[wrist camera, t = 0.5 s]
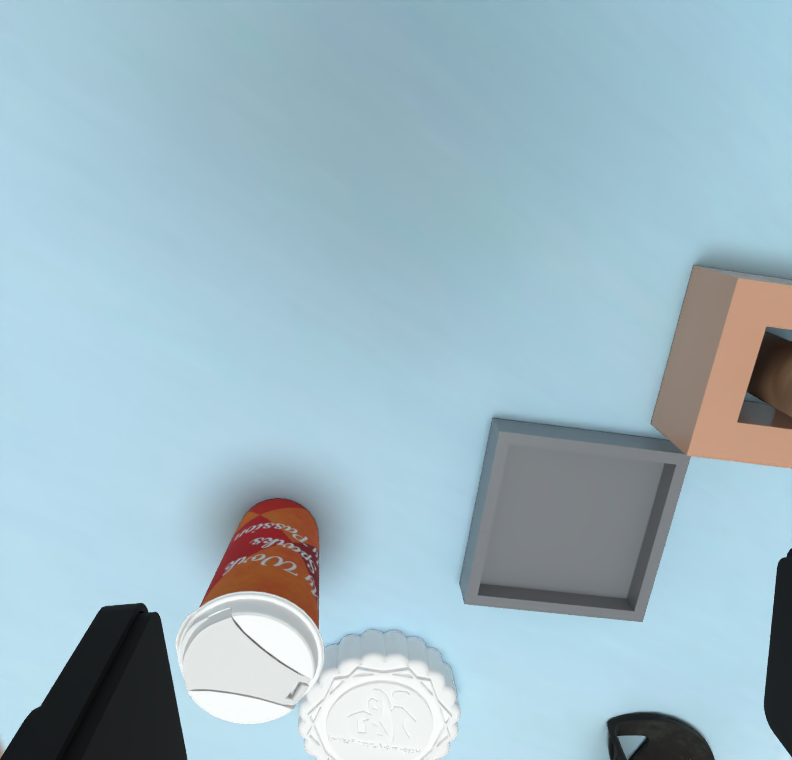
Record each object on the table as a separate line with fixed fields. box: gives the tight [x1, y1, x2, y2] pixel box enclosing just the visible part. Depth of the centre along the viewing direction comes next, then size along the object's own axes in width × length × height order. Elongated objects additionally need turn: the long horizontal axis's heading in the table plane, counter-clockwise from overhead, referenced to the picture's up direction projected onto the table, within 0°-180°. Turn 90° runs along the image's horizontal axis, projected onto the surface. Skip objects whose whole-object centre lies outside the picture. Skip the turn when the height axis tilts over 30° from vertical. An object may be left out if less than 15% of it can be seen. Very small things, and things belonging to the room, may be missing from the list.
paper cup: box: [176, 499, 324, 724], centre depth 42 cm, size 8×8×14 cm
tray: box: [459, 418, 691, 622], centre depth 48 cm, size 13×13×2 cm
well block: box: [651, 265, 792, 468], centre depth 44 cm, size 11×11×6 cm
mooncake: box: [298, 630, 461, 760], centre depth 51 cm, size 12×12×4 cm
